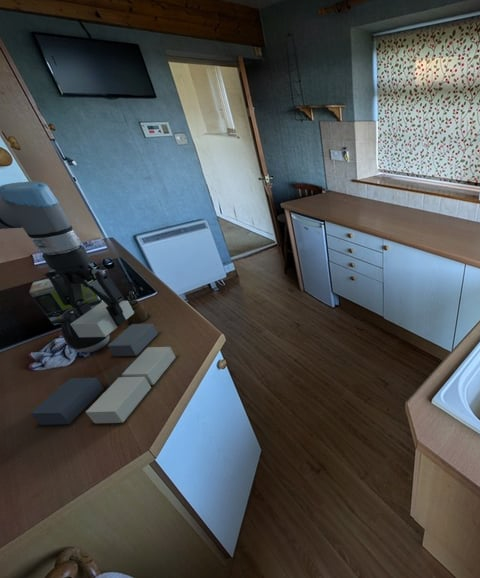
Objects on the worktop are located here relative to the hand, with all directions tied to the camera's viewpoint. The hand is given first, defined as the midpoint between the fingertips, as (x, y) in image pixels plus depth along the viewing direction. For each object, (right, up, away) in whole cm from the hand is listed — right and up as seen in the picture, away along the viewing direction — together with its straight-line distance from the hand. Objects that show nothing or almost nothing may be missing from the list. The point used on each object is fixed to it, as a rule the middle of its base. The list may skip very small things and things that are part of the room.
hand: (108, 323), depth 83 cm
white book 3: (+9, -15, +5) cm, 18 cm away
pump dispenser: (-17, -10, +14) cm, 24 cm away
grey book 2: (-4, -9, +15) cm, 18 cm away
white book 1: (0, 0, 0) cm, 0 cm away
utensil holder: (-14, -2, +27) cm, 30 cm away
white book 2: (+9, -21, -5) cm, 24 cm away
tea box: (-39, 0, +30) cm, 50 cm away
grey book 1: (-4, -21, -5) cm, 22 cm away
